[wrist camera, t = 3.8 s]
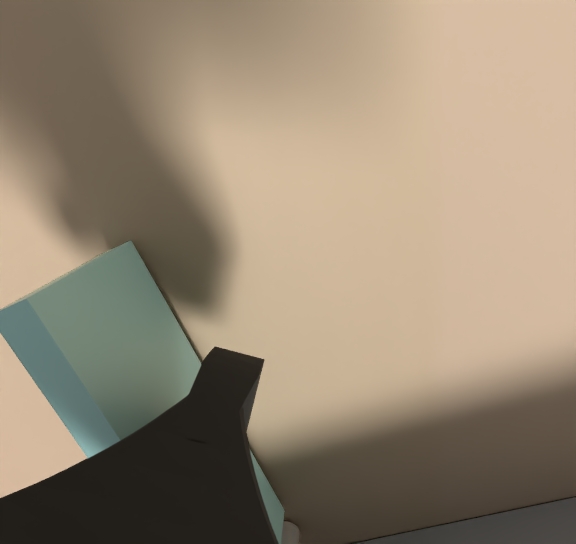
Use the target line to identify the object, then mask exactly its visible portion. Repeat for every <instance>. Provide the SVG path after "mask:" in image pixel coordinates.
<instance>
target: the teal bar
mask: <svg viewBox="0 0 576 544" xmlns="http://www.w3.org/2000/svg"><path fill="white" fill-rule="evenodd" d="M0 333H1V334H2V336H3V337H4V338H5V340H6V341H7V343H8V344H9V346H10V347H11V349H12V350H13V351H14V353H15V354H16V356H17V357H18V359H19V360H20V361H21V363H22V364H23V366H24V367H25V369H26V370H27V371H28V373H29V374H30V376H31V377H32V379H33V380H34V381H35V383H36V384H37V386H38V387H39V389H40V390H41V392H42V393H43V394H44V396H45V397H46V399H47V400H48V402H49V403H50V404H51V406H52V407H53V409H54V410H55V412H56V413H57V414H58V416H59V417H60V419H61V420H62V422H63V423H64V424H65V426H66V427H67V429H68V430H69V432H70V433H71V435H72V436H73V437H74V439H75V440H76V442H77V443H78V445H79V446H80V447H81V449H82V450H83V452H84V453H85V455H86V456H87V457H88V458H89V457H91V456H93V455H95V454H97V453H99V452H101V451H103V450H105V449H106V448H108V447H110V446H112V445H113V444H115V443H117V442H119V441H120V440H122V439H124V438H125V437H127V436H129V435H130V434H132V433H134V432H135V431H137V430H138V429H140V428H142V427H143V426H145V425H146V424H148V423H149V422H151V421H152V420H154V419H155V418H157V417H158V416H160V415H161V414H162V413H164V412H165V411H167V410H168V409H169V408H171V407H172V406H174V405H175V404H177V403H178V402H179V401H181V400H182V399H183V398H185V397H186V396H187V395H188V394H189V392H190V390H191V388H192V385H193V383H194V381H195V378H196V376H197V374H198V372H199V369H200V367H201V365H202V364H201V362H200V361H199V359H198V357H197V355H196V354H195V352H194V350H193V348H192V347H191V345H190V343H189V341H188V340H187V338H186V336H185V334H184V332H183V331H182V329H181V327H180V325H179V324H178V322H177V320H176V318H175V317H174V315H173V313H172V311H171V310H170V308H169V306H168V304H167V303H166V301H165V299H164V297H163V296H162V294H161V292H160V290H159V289H158V287H157V285H156V283H155V282H154V280H153V278H152V276H151V274H150V273H149V271H148V269H147V267H146V266H145V264H144V262H143V260H142V259H141V257H140V255H139V253H138V252H137V250H136V248H135V246H134V245H133V243H132V241H131V240H130V241H128V242H126V243H124V244H122V245H119V246H117V247H115V248H113V249H111V250H109V251H106V252H104V253H103V254H101V255H99V256H97V257H95V258H93V259H92V260H90V261H88V262H86V263H84V264H82V265H81V266H79V267H77V268H75V269H73V270H71V271H70V272H68V273H66V274H64V275H62V276H60V277H59V278H57V279H55V280H53V281H51V282H49V283H48V284H46V285H44V286H42V287H40V288H39V289H37V290H35V291H33V292H31V293H29V294H28V295H26V296H24V297H22V298H20V299H18V300H17V301H15V302H13V303H11V304H9V305H7V306H6V307H4V308H2V309H0ZM250 453H251V458H252V462H253V466H254V470H255V474H256V478H257V481H258V485H259V488H260V492H261V495H262V498H263V501H264V504H265V507H266V510H267V513H268V516H269V520H270V522H271V525H272V528H273V530H274V533H275V535H276V538H277V540H278V543H279V544H299V542H300V530H299V528H298V527H297V526H296V525H295V524H293V523H291V522H287V521H283V520H284V512H285V510H284V508H283V507H282V505H281V503H280V501H279V500H278V498H277V496H276V494H275V493H274V491H273V489H272V487H271V485H270V484H269V482H268V480H267V478H266V477H265V475H264V473H263V471H262V470H261V468H260V466H259V464H258V463H257V461H256V459H255V457H254V456H253V454H252V452H251V450H250Z"/></svg>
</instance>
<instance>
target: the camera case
mask: <svg viewBox="0 0 576 544" xmlns="http://www.w3.org/2000/svg"><path fill="white" fill-rule="evenodd" d="M354 544H576V497H574V498H569V499H565V500H560V501H555V502H550V503H545V504H541V505H536V506H531V507H526V508H522V509H517V510H512V511H507V512H502V513H498V514H493V515H488V516H483V517H478V518H474V519H469V520H464V521H459V522H455V523H450V524H445V525H440V526H435V527H431V528H426V529H421V530H416V531H411V532H407V533H402V534H397V535H392V536H388V537H383V538H378V539H373V540H368V541H364V542H359V543H354Z"/></svg>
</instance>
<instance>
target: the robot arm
mask: <svg viewBox="0 0 576 544" xmlns="http://www.w3.org/2000/svg"><path fill="white" fill-rule="evenodd" d="M263 363H264V359H261V358H257V357H253V356H249V355H245V354H241V353H238V352H234V351H230V350H226V349H222V348H219V347H214V348H213V349H212V350H211V351H210V352H209V354H208V355H207V356H206V358H205V359H204V360H203V362H202V365H201V367H200V369H199V372H198V374H197V376H196V378H195V381H194V383H193V385H192V388H191V390H190V392H189V394H188V395H187V396H186V397H185V398H183V399H182V400H181V401H179V402H178V403H177V404H175V405H174V406H172V407H171V408H169V409H168V410H167V411H165V412H164V413H162V414H161V415H160V416H158V417H157V418H155V419H154V420H152V421H151V422H149V423H148V424H146V425H145V426H143V427H142V428H140V429H138V430H137V431H135V432H134V433H132V434H130V435H129V436H127V437H125V438H124V439H122V440H120V441H119V442H117V443H115V444H113V445H112V446H110V447H108V448H106V449H105V450H103V451H101V452H99V453H97V454H95V455H93V456H91V457H89V458H87V459H85V460H83V461H81V462H79V463H78V464H76V465H74V466H72V467H70V468H68V469H66V470H64V471H62V472H60V473H57V474H55V475H53V476H51V477H49V478H47V479H45V480H42V481H40V482H38V483H36V484H34V485H31V486H29V487H26V488H24V489H21V490H19V491H17V492H14V493H12V494H9V495H7V496H5V497H2V498H0V544H279V543H278V540H277V538H276V535H275V533H274V530H273V528H272V525H271V522H270V520H269V516H268V513H267V510H266V507H265V504H264V501H263V498H262V495H261V492H260V488H259V485H258V481H257V478H256V474H255V470H254V466H253V462H252V458H251V453H250V448H249V443H248V438H247V433H246V431H247V427H248V423H249V419H250V415H251V411H252V407H253V403H254V399H255V395H256V391H257V387H258V383H259V379H260V375H261V371H262V367H263Z"/></svg>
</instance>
